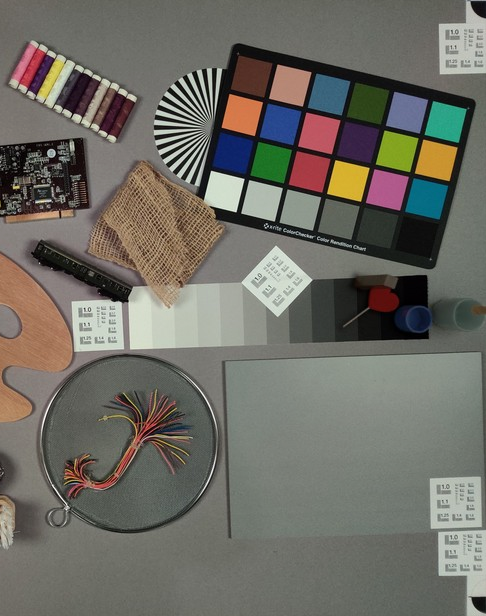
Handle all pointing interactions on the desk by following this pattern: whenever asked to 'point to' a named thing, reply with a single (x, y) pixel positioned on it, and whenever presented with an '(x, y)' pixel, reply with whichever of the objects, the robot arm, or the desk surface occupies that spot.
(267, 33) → the desk surface
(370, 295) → the lollipop
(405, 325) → the bowl
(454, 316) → the cup
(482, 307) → the stick
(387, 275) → the block
